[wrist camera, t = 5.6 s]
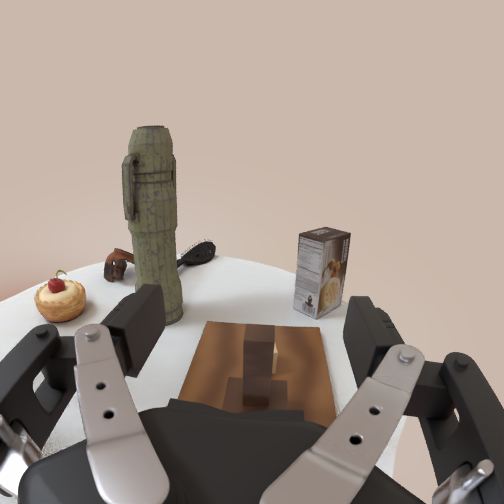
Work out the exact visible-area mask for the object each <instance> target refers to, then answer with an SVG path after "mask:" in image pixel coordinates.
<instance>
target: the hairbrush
mask: <svg viewBox="0 0 504 504" xmlns="http://www.w3.org/2000/svg"><path fill="white" fill-rule="evenodd" d="M215 249H216V246H215V245H214V244H213V243H212V242H207V241H206V242H203V243H200V244H198V245H197V246H195V247H193V248H192V249H190V251H189V252H187V253H186V254H185V255H184V256H183V257H182V258H181V259H178V260H177V268H178V267H179V266H181V265H182V264H184V263H187V264H203V263H206V262H208V261H210V260H211V259H212V258H213V257H214V255H215ZM210 252H211V253H210ZM181 255H183V254H181Z"/></svg>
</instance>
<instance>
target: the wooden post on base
mask: <svg viewBox="0 0 504 504" xmlns="http://www.w3.org/2000/svg"><path fill="white" fill-rule="evenodd" d="M274 345H275V325H259V324H246V328H245V333H244V339H243V378H237V377H228V382H227V387H226V392H225V396H224V401H223V406H222V410H224V411H227V412H231V413H245V412H254V411H262V410H269V409H274V410H288V381H287V380H271V377H272V367H273V356H274Z"/></svg>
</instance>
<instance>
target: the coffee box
mask: <svg viewBox="0 0 504 504" xmlns="http://www.w3.org/2000/svg"><path fill="white" fill-rule="evenodd" d="M350 236H351V233H348V232H344V231H340V230H336V229H332V228H328V227H324V228H319V229H316V230H311V231H307V232H303V233H300V234H299V243H298V257H297V270H296V282H295V294H294V304H293V308H294V309H296V310H298V311H300V312H302V313H304V314H306V315H308V316H310V317H312V318H314V319H318V318H320V317H321V316H323V315H325V314H326V313H328V312H329V311H331V310H333V309H334V308H336V307H337V306H339V305H340V304H341V299H342V293H343V287H344V280H345V274H346V267H347V259H348V252H349V244H350Z"/></svg>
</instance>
